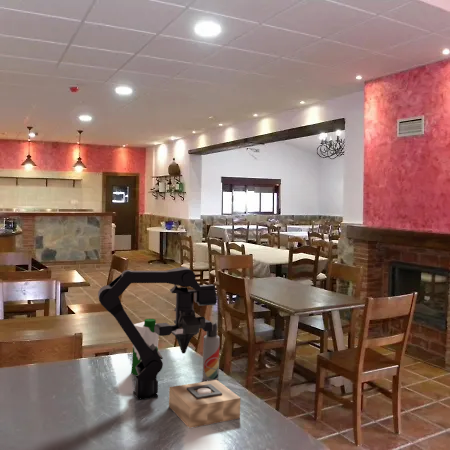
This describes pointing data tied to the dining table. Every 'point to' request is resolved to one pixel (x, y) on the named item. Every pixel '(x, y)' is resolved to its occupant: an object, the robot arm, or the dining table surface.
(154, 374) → the robot arm
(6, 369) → the dining table surface
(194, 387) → the socket block
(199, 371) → the dining table surface
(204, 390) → the dowel
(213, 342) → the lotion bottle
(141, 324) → the milk carton
